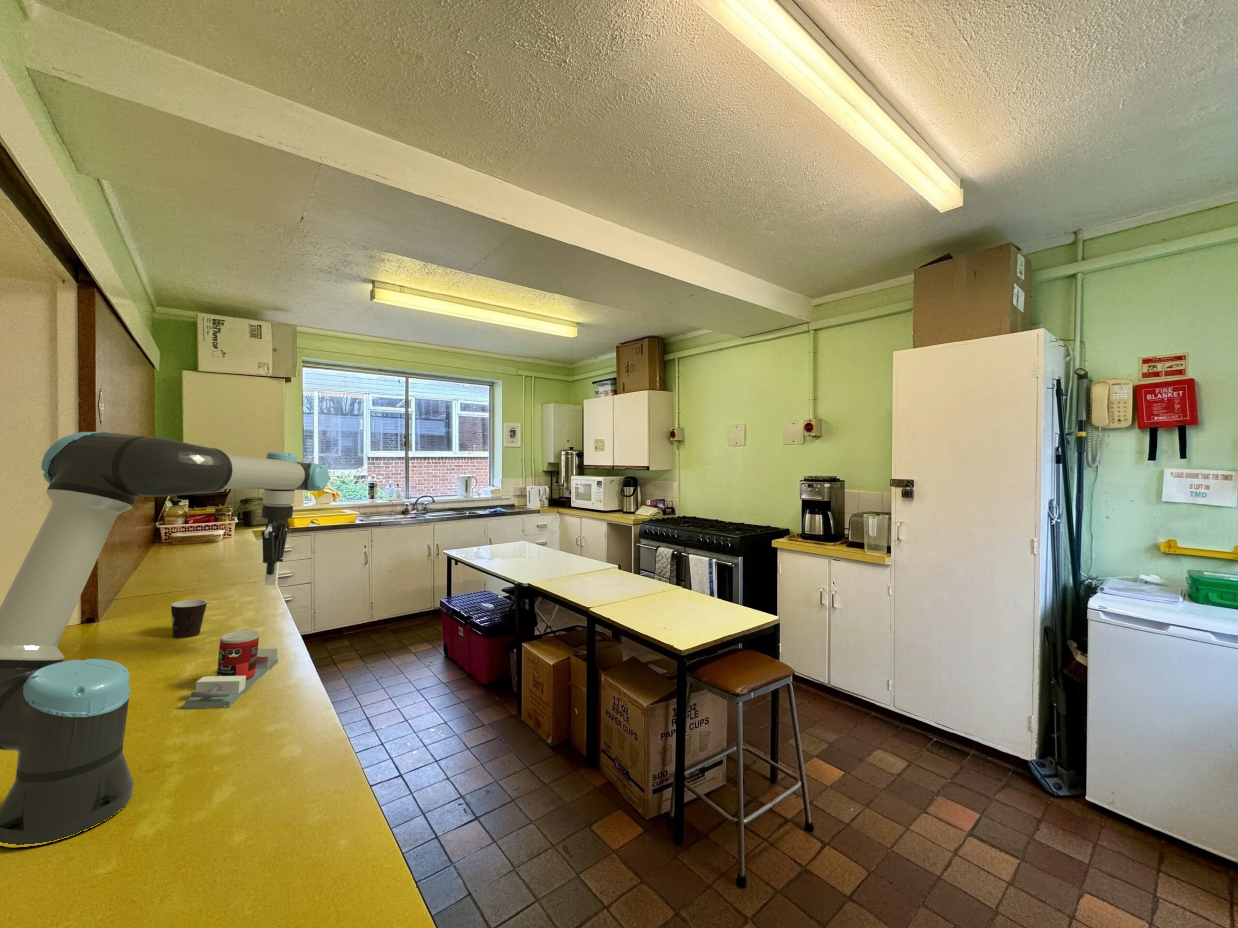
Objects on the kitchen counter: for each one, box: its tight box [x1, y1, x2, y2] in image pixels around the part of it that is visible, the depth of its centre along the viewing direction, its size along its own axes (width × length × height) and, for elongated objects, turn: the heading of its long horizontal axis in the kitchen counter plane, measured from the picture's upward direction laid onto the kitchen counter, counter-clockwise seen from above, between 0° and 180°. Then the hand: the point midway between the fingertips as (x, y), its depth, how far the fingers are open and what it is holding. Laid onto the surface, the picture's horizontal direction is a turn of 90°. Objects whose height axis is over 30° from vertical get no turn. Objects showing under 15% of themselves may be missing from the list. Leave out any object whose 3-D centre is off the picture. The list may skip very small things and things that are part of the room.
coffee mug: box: [170, 598, 208, 639], centre depth 153 cm, size 12×9×10 cm
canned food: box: [216, 630, 260, 680], centre depth 126 cm, size 8×8×11 cm
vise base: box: [183, 657, 279, 710], centre depth 126 cm, size 26×9×4 cm, turn 14°
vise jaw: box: [256, 648, 278, 668], centre depth 135 cm, size 6×9×3 cm, turn 104°
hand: (271, 584), depth 144 cm, fingers closed
